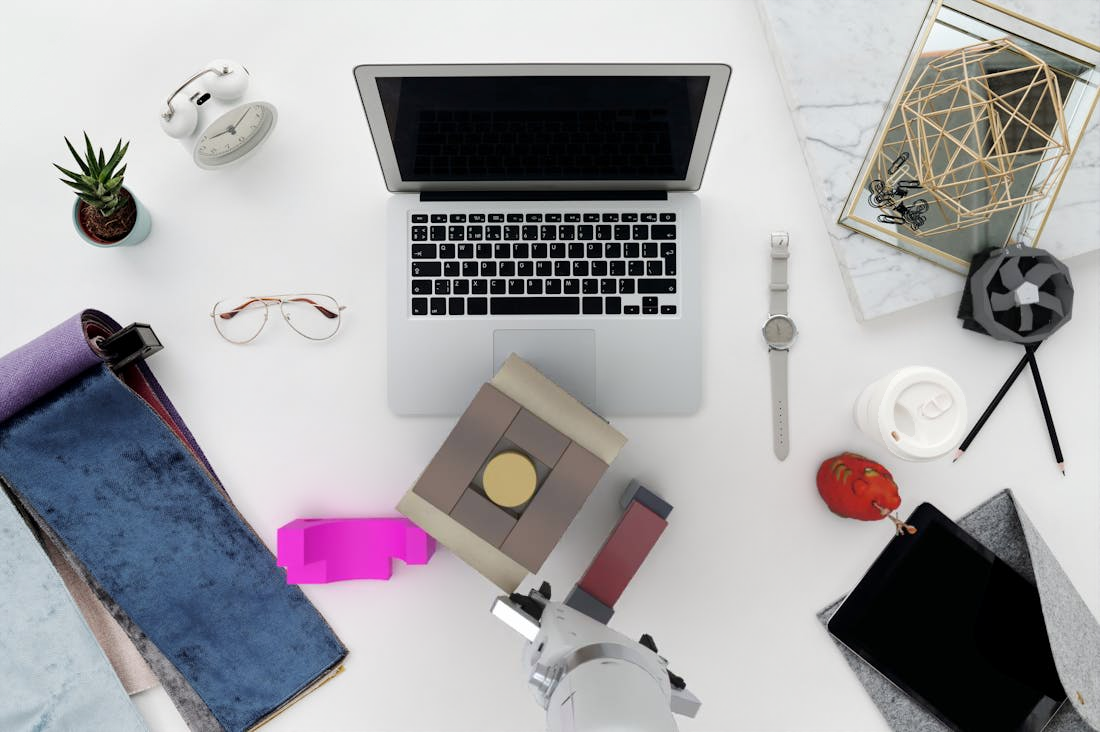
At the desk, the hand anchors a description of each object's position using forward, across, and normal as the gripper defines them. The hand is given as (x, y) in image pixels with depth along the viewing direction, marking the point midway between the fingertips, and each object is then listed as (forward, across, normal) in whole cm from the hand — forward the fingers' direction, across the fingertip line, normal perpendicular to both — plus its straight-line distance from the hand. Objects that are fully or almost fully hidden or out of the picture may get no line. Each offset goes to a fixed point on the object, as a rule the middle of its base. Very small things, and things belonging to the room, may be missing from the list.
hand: (589, 624), depth 66 cm
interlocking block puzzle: (+19, -12, +9) cm, 24 cm away
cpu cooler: (+20, +28, +48) cm, 59 cm away
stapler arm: (+11, +2, +4) cm, 12 cm away
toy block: (+20, -22, -8) cm, 30 cm away
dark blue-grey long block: (+19, +2, +5) cm, 20 cm away
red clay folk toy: (+20, +22, +22) cm, 37 cm away
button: (-6, -12, +9) cm, 16 cm away
